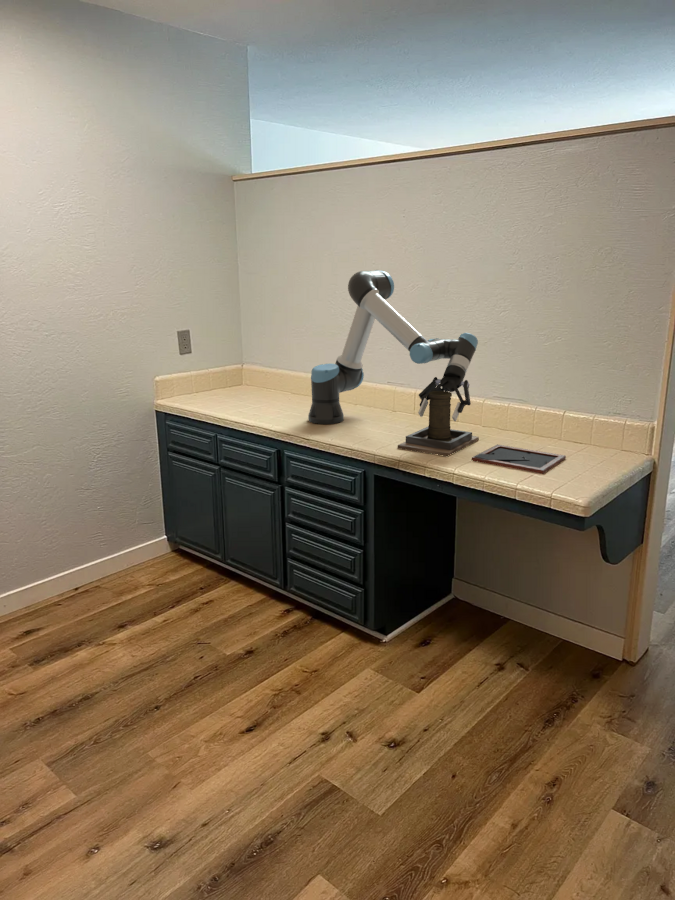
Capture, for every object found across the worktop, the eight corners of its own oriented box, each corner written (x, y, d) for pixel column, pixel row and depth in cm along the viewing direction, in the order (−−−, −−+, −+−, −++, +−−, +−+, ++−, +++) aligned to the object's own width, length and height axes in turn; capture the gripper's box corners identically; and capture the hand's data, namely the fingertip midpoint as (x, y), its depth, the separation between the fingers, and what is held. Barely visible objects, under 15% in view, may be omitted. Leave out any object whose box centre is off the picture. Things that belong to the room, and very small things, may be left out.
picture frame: (471, 462, 229) (542, 475, 214) (471, 456, 229) (543, 469, 214) (497, 448, 244) (565, 460, 229) (497, 443, 244) (565, 454, 229)
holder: (431, 432, 265) (431, 423, 264) (478, 439, 254) (479, 430, 253) (397, 448, 245) (397, 438, 244) (447, 456, 234) (447, 446, 233)
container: (450, 444, 244) (452, 395, 239) (425, 443, 246) (426, 395, 241) (452, 438, 253) (453, 390, 248) (427, 437, 254) (428, 390, 249)
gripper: (490, 378, 248) (471, 427, 241) (429, 373, 262) (410, 418, 255) (485, 366, 243) (465, 415, 235) (423, 361, 257) (403, 407, 249)
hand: (436, 417), depth 245 cm, fingers open, 13 cm apart
